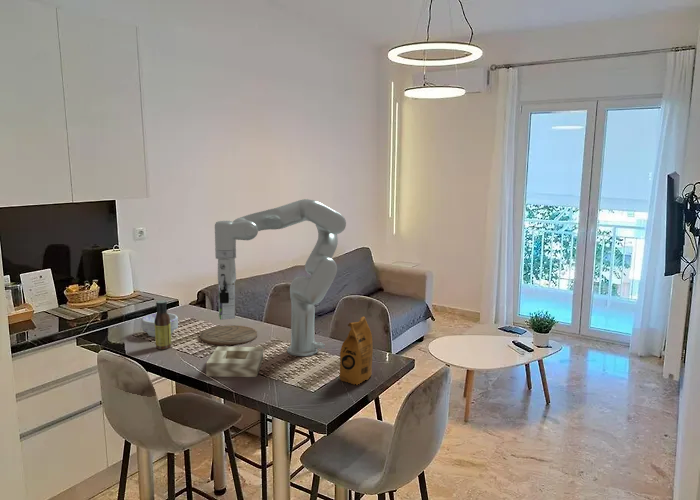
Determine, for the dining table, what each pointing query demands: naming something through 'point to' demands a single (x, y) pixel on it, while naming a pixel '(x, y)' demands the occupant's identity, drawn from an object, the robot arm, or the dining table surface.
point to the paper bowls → (149, 323)
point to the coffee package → (357, 353)
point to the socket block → (235, 362)
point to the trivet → (228, 335)
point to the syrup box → (228, 304)
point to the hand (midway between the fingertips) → (226, 300)
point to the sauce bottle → (162, 326)
